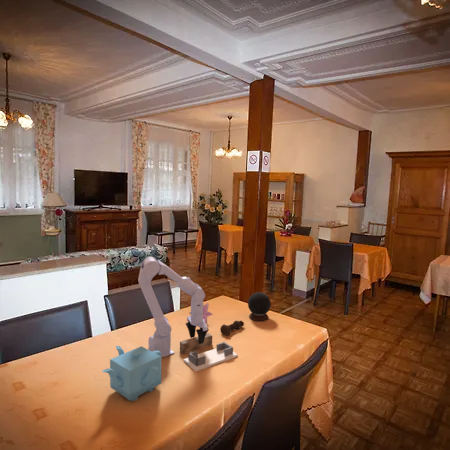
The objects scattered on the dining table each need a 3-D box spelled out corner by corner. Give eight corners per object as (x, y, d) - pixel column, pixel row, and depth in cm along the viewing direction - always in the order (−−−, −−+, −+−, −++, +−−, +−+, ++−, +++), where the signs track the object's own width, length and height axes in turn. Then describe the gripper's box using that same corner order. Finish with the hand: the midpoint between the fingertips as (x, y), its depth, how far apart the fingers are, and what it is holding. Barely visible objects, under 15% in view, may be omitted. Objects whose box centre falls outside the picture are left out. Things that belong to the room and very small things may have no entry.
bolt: (242, 330, 187) (224, 338, 175) (236, 323, 189) (218, 330, 178) (247, 322, 184) (229, 330, 173) (241, 316, 187) (223, 323, 176)
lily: (186, 322, 193) (186, 311, 188) (199, 308, 201) (199, 297, 196) (203, 333, 188) (204, 322, 183) (215, 319, 197) (216, 308, 191)
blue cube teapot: (162, 375, 138) (162, 340, 136) (158, 405, 119) (159, 365, 117) (114, 377, 135) (113, 341, 134) (102, 407, 117) (101, 366, 115)
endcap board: (196, 371, 141) (196, 362, 140) (183, 361, 149) (183, 352, 148) (237, 356, 154) (237, 347, 154) (224, 347, 162) (224, 339, 162)
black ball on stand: (273, 316, 202) (275, 292, 200) (264, 324, 191) (265, 298, 189) (253, 311, 209) (254, 287, 207) (243, 318, 198) (244, 293, 196)
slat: (183, 354, 155) (183, 344, 154) (179, 352, 157) (179, 341, 157) (212, 345, 165) (212, 335, 164) (208, 343, 167) (208, 333, 166)
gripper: (213, 315, 156) (212, 343, 157) (195, 305, 167) (195, 332, 169) (200, 318, 151) (199, 348, 153) (183, 308, 163) (183, 336, 164)
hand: (196, 340), depth 161 cm, fingers open, 7 cm apart
